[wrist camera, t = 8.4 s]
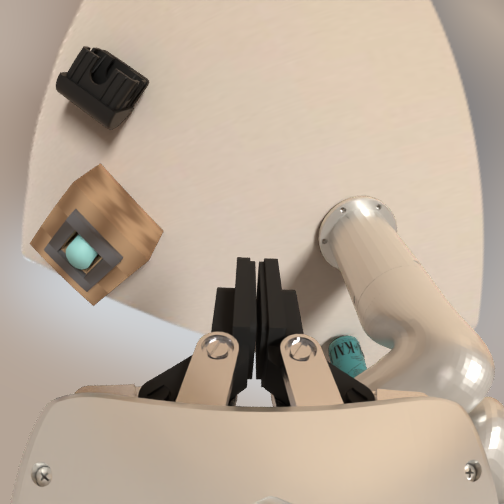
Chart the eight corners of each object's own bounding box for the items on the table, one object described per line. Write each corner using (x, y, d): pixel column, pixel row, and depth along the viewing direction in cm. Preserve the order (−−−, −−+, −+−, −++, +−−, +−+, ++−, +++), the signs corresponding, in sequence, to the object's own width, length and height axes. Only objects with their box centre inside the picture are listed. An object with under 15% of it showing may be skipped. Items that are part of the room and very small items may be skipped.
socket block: (163, 230, 44) (146, 264, 36) (110, 275, 49) (91, 310, 41) (100, 163, 38) (69, 184, 31) (55, 219, 43) (26, 247, 35)
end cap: (74, 89, 32) (47, 93, 26) (101, 47, 30) (76, 44, 24) (123, 125, 36) (102, 134, 30) (153, 83, 33) (135, 84, 27)
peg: (119, 227, 43) (95, 259, 36) (105, 241, 45) (81, 274, 37) (101, 209, 42) (74, 238, 34) (88, 224, 43) (61, 254, 35)
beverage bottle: (351, 350, 59) (374, 433, 42) (321, 351, 59) (338, 438, 41) (361, 329, 55) (390, 416, 38) (330, 329, 55) (352, 421, 38)
